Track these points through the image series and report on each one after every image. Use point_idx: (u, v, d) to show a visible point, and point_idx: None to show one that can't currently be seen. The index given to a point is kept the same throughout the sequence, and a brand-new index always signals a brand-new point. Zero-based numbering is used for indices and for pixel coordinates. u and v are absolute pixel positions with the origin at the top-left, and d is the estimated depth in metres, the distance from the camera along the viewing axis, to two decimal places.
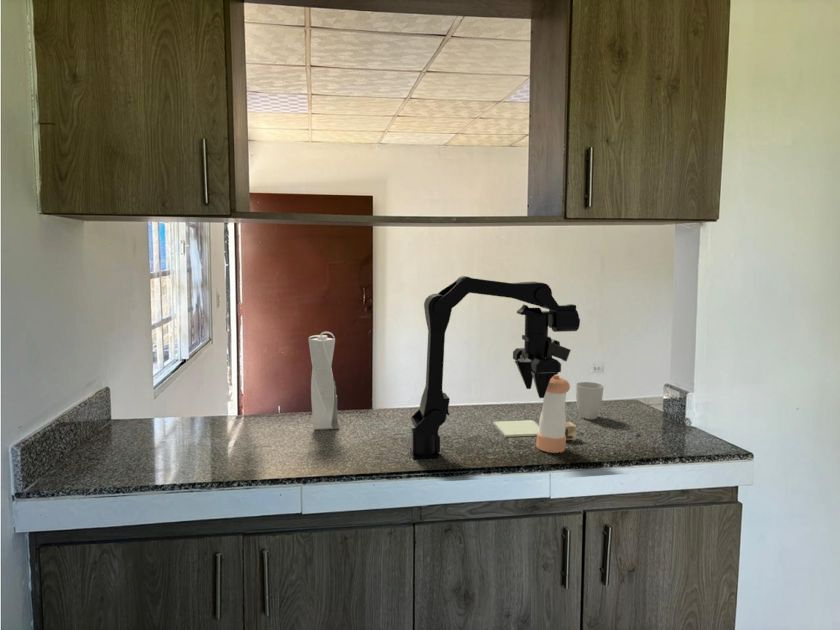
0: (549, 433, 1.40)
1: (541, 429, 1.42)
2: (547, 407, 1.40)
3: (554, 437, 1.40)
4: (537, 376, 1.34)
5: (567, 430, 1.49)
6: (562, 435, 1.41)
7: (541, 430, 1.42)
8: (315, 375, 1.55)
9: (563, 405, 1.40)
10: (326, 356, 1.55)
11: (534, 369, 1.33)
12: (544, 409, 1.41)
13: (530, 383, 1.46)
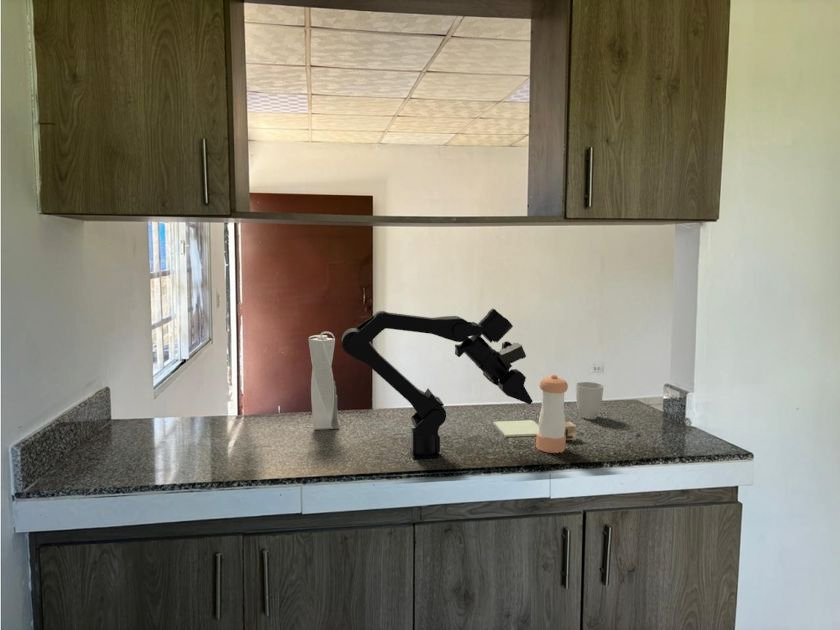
0: (549, 433, 1.40)
1: (540, 429, 1.42)
2: (546, 408, 1.41)
3: (554, 437, 1.40)
4: (512, 394, 1.34)
5: (567, 430, 1.49)
6: (562, 435, 1.41)
7: (540, 430, 1.42)
8: (315, 375, 1.55)
9: (562, 405, 1.40)
10: (326, 356, 1.55)
11: None
12: (543, 409, 1.42)
13: None
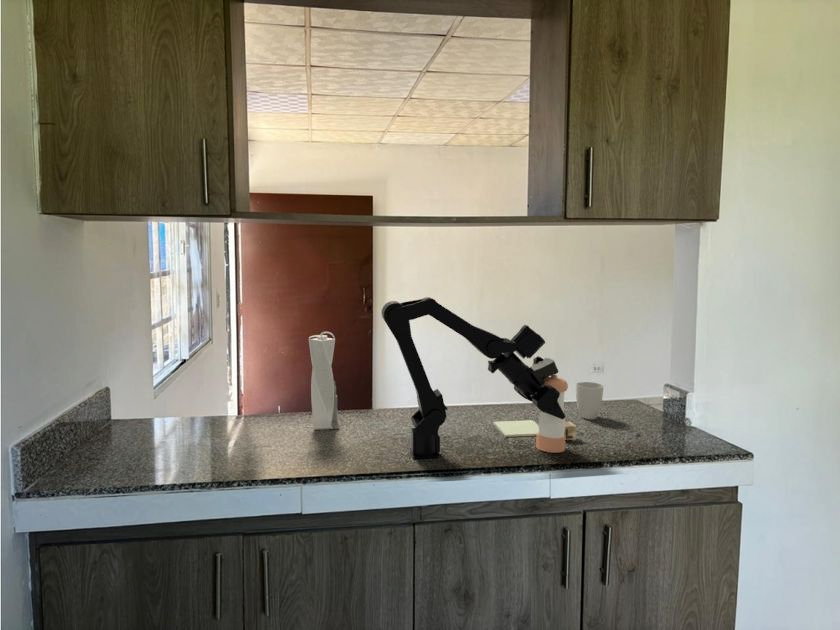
0: (549, 433, 1.40)
1: (540, 429, 1.42)
2: None
3: (554, 437, 1.40)
4: (546, 409, 1.35)
5: (567, 430, 1.49)
6: (562, 435, 1.41)
7: (541, 430, 1.42)
8: (315, 375, 1.55)
9: (562, 404, 1.41)
10: (326, 356, 1.55)
11: (539, 409, 1.34)
12: None
13: None
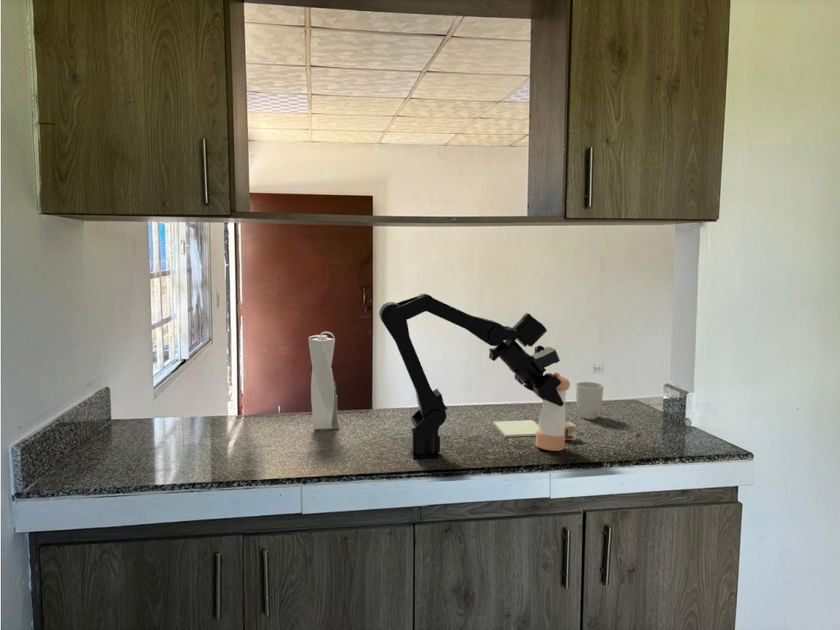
0: (548, 431, 1.40)
1: (540, 427, 1.42)
2: (547, 405, 1.41)
3: (553, 435, 1.40)
4: None
5: (567, 430, 1.49)
6: (561, 433, 1.41)
7: (540, 428, 1.42)
8: (315, 375, 1.55)
9: None
10: (326, 356, 1.55)
11: None
12: (544, 407, 1.42)
13: None
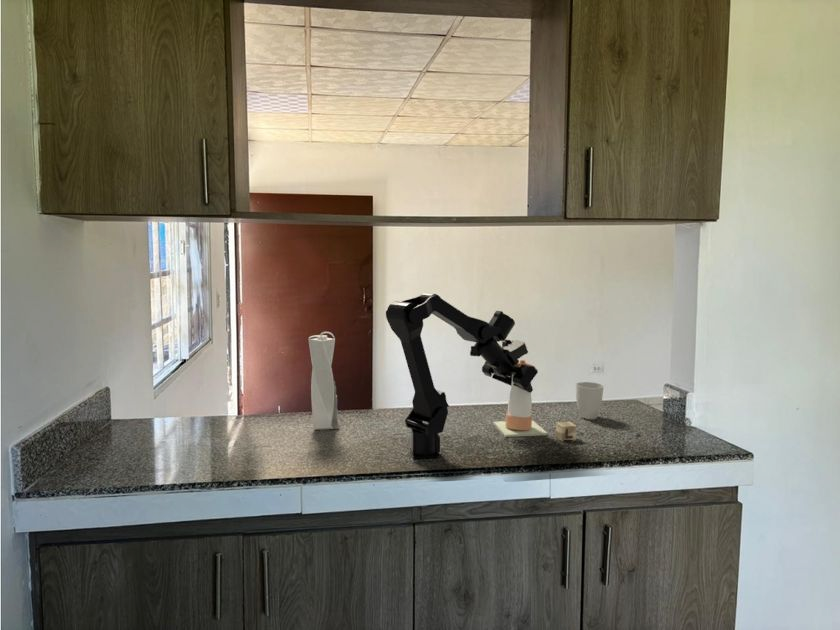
0: (520, 413, 1.55)
1: (512, 410, 1.56)
2: (517, 390, 1.55)
3: (524, 416, 1.55)
4: None
5: (567, 430, 1.49)
6: (530, 414, 1.57)
7: (512, 411, 1.56)
8: (315, 375, 1.55)
9: None
10: (326, 356, 1.55)
11: (520, 386, 1.48)
12: (514, 391, 1.56)
13: None
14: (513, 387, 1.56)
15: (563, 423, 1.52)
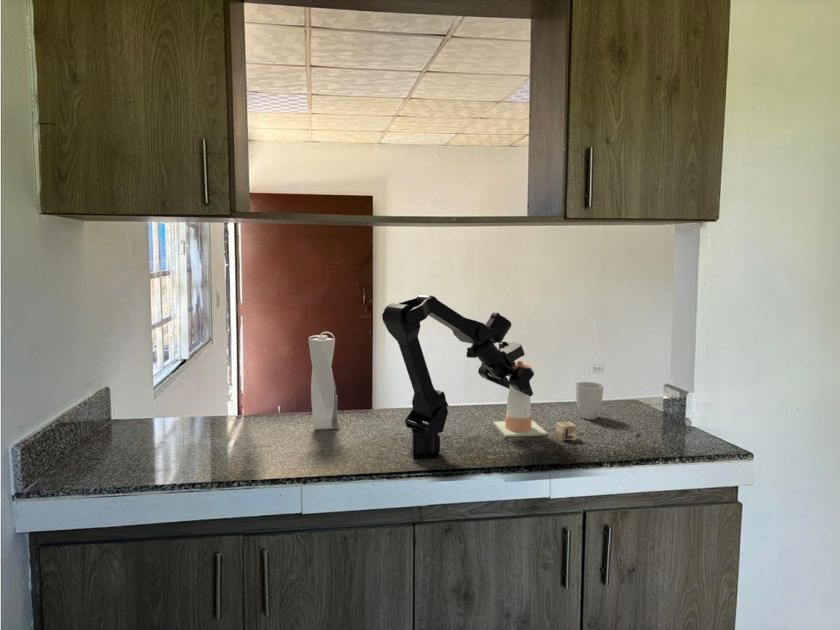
0: (520, 414, 1.55)
1: (511, 411, 1.56)
2: (516, 391, 1.55)
3: (524, 417, 1.55)
4: None
5: (567, 430, 1.49)
6: (529, 414, 1.57)
7: (511, 412, 1.56)
8: (315, 375, 1.55)
9: None
10: (326, 356, 1.55)
11: (516, 388, 1.47)
12: (512, 393, 1.56)
13: (509, 383, 1.61)
14: (511, 389, 1.56)
15: (563, 423, 1.52)
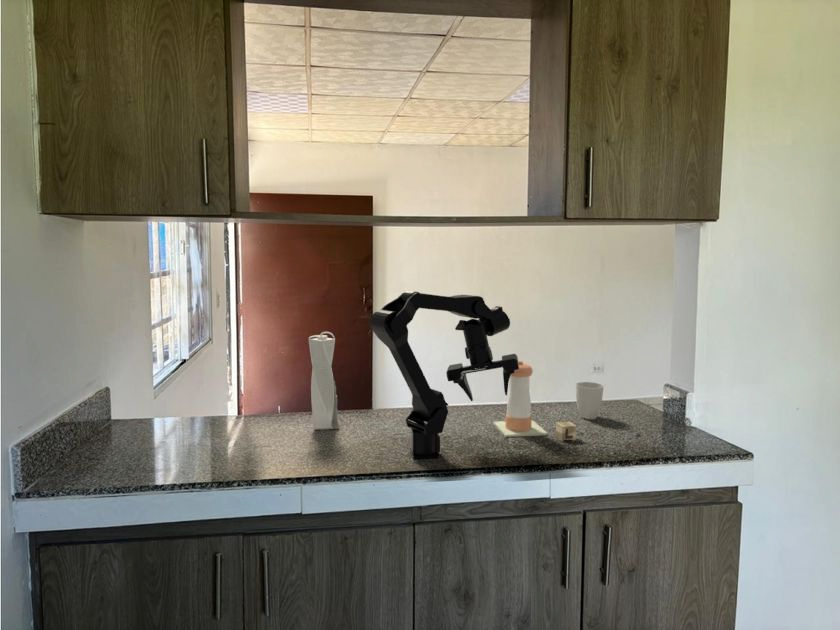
0: (520, 414, 1.55)
1: (511, 411, 1.56)
2: (516, 391, 1.55)
3: (524, 417, 1.55)
4: None
5: (567, 430, 1.49)
6: (529, 414, 1.57)
7: (511, 412, 1.56)
8: (315, 375, 1.55)
9: (528, 387, 1.56)
10: (326, 356, 1.55)
11: (511, 368, 1.42)
12: (513, 393, 1.56)
13: (471, 394, 1.49)
14: (511, 389, 1.56)
15: (563, 423, 1.52)
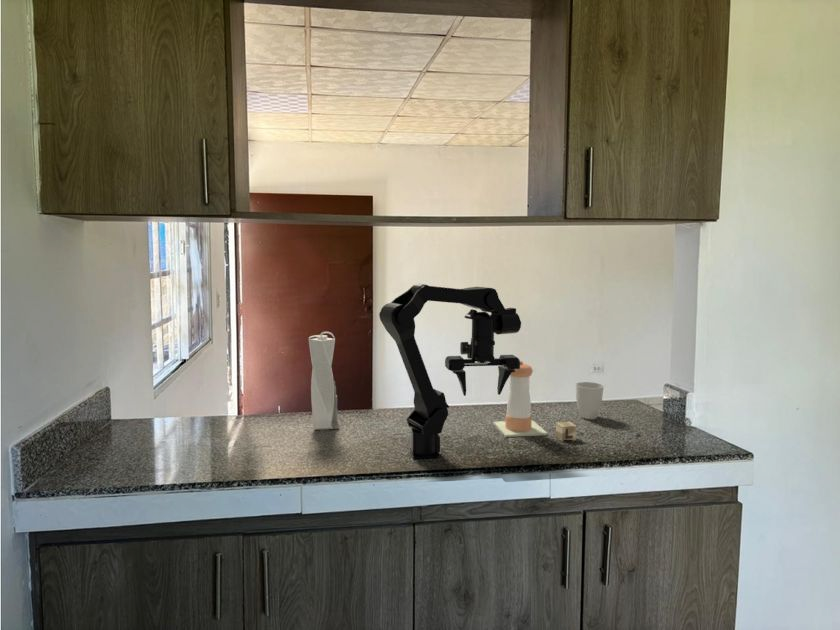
0: (520, 414, 1.55)
1: (511, 411, 1.56)
2: (516, 391, 1.55)
3: (524, 417, 1.55)
4: None
5: (567, 430, 1.49)
6: (529, 414, 1.57)
7: (511, 412, 1.56)
8: (315, 375, 1.55)
9: (528, 387, 1.56)
10: (326, 356, 1.55)
11: (514, 367, 1.43)
12: (513, 393, 1.56)
13: None
14: (511, 389, 1.56)
15: (563, 423, 1.52)
